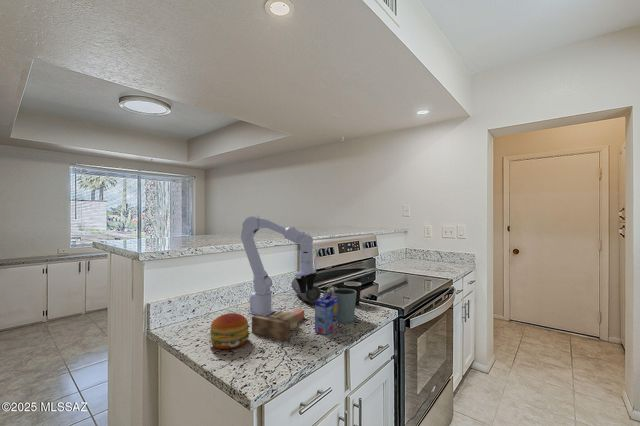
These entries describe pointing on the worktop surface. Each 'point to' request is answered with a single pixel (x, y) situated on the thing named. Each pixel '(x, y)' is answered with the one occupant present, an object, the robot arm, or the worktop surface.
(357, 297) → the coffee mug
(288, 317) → the block
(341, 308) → the grey green cup
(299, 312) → the brick
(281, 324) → the wall
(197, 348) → the worktop surface
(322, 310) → the ink cartridge box
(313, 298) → the bluetooth speaker
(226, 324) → the burger
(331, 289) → the food container
